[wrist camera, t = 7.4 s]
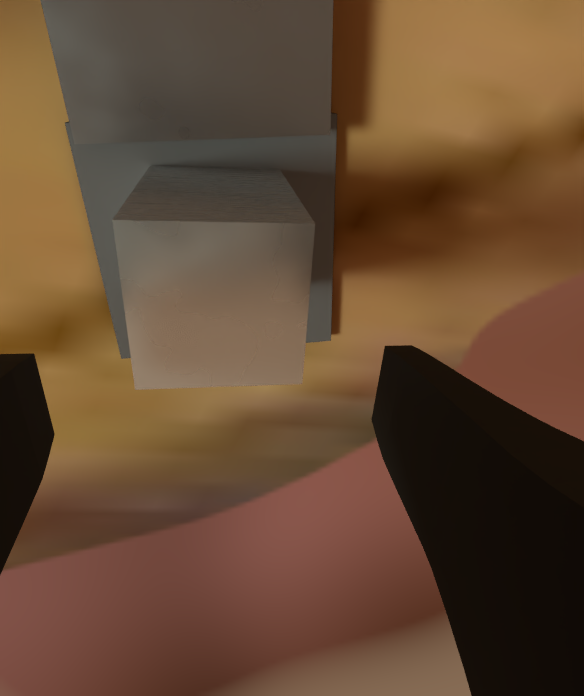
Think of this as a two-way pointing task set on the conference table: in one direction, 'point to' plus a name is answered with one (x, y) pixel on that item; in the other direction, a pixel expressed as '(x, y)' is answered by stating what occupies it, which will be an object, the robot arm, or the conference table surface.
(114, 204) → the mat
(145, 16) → the rail
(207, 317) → the pale grey square block
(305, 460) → the conference table surface
